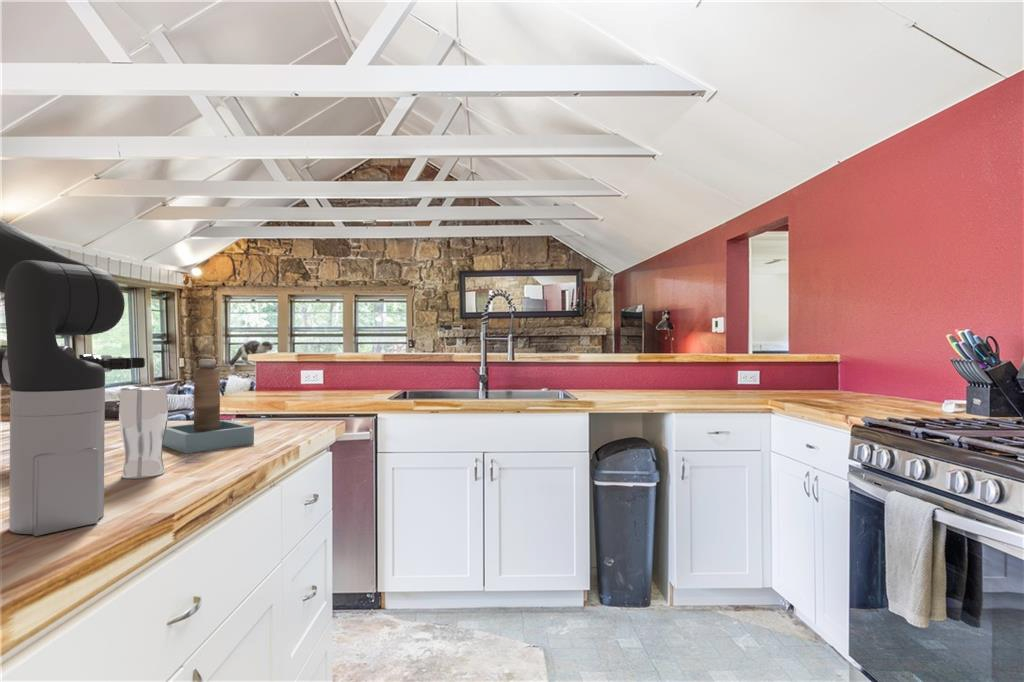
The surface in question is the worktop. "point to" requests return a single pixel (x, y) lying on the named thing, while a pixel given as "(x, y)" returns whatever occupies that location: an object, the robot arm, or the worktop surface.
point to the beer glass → (143, 430)
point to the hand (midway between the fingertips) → (138, 363)
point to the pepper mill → (206, 396)
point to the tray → (208, 437)
